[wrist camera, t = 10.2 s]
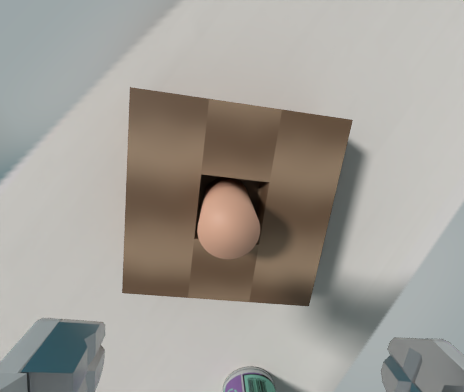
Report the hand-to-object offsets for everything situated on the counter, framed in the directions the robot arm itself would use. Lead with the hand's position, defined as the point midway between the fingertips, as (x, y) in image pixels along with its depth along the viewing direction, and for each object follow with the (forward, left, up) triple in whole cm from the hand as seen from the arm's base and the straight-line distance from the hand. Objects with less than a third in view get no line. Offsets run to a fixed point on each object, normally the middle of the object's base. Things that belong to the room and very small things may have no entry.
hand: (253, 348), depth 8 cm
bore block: (0, 0, -17) cm, 17 cm away
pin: (0, 0, -15) cm, 15 cm away
